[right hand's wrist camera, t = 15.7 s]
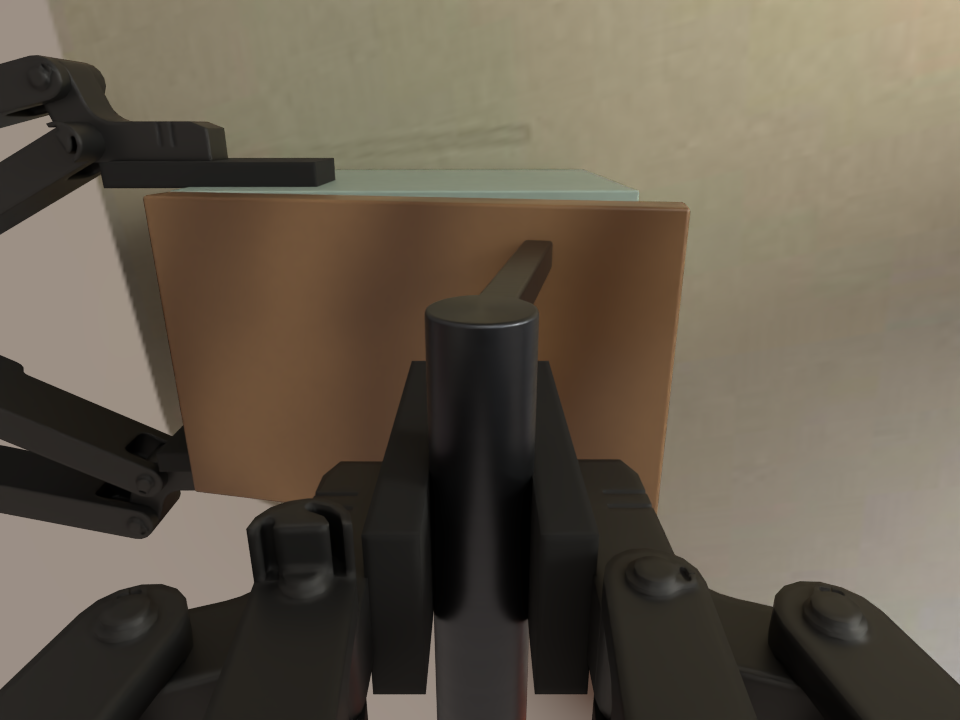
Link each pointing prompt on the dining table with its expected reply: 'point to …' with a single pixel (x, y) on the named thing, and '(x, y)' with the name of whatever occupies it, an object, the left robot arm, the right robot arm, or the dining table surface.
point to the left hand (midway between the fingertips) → (337, 318)
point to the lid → (449, 368)
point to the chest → (458, 185)
